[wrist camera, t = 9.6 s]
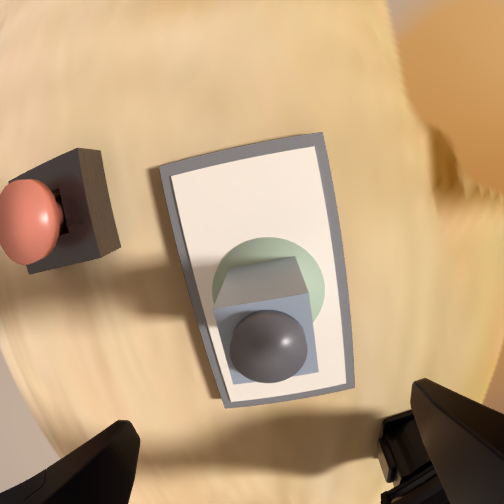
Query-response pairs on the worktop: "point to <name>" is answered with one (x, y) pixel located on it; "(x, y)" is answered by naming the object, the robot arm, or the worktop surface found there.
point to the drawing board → (264, 249)
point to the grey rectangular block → (266, 322)
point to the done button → (29, 220)
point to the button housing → (78, 208)
